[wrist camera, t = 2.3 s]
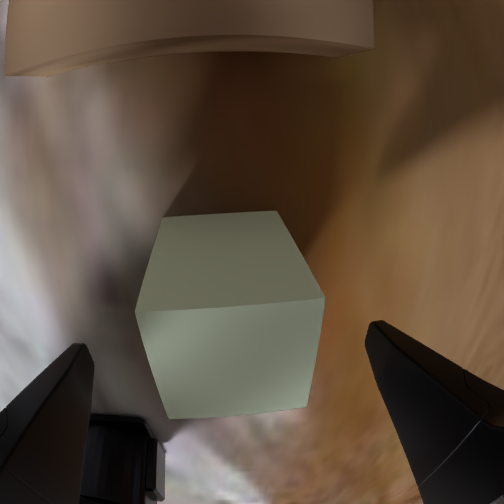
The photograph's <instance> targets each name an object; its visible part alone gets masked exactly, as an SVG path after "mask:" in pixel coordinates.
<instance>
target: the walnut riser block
mask: <svg viewBox="0 0 504 504" xmlns="http://www.w3.org/2000/svg"><path fill="white" fill-rule="evenodd" d="M371 49H374V9H373V0H9V6H8V15H7V25H6V38H5V67H4V76H40V77H49V76H52V75H56V74H60V73H64V72H68V71H72V70H76V69H80V68H85V67H89V66H94V65H99V64H104V63H110V62H116V61H122V60H128V59H135V58H142V57H150V56H158V55H168V54H180V53H194V52H216V51H261V52H283V53H297V54H309V55H319V56H327V57H335V58H336V57H340V56H344V55H348V54H353V53H357V52H362V51H366V50H371Z"/></svg>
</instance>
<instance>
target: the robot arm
mask: <svg viewBox="0 0 504 504" xmlns="http://www.w3.org/2000/svg"><path fill="white" fill-rule="evenodd" d="M365 348H366V351H367V354H368V357H369V361H370V364H371V367H372V370H373V374H374V377H375V380H376V383H377V386H378V388H379V391H380V393H381V395H382V398H383V400H384V403H385V405H386V407H387V410H388V412H389V414H390V417H391V419H392V422H393V424H394V427H395V429H396V431H397V434H398V436H399V439H400V441H401V444H402V446H403V449H404V452H405V454H406V457H407V459H408V462H409V464H410V467H411V470H412V472H413V475H414V478H415V480H416V483H417V486H419V487H418V489H419V492H420V495H421V497H422V500H423V503H424V504H504V390H502V389H500V388H498V387H496V386H494V385H492V384H490V383H488V382H486V381H484V380H482V379H481V378H479V377H477V376H475V375H474V374H472V373H470V372H469V371H467V370H465V369H462V367H460V366H459V365H457V364H455V363H454V362H452V361H450V360H449V359H447V358H445V357H444V356H442V355H440V354H439V353H437V352H435V351H434V350H432V349H430V348H429V347H427V346H425V345H424V344H422V343H420V342H419V341H417V340H415V339H414V338H412V337H410V336H408V335H407V334H405V333H403V332H402V331H400V330H398V329H397V328H395V327H393V326H392V325H390V324H388V323H387V322H385V321H383V320H378V321H373V322H371V323H370V324H369V327H368V331H367V335H366V338H365ZM93 377H94V362H93V359H92V357H91V355H90V353H89V350H88V348H87V346H86V345H85V344H84V343H73V344H72V345H71V346H69V347H68V348H67V349H66V350H65V351H64V352H63V353H62V354H61V355H60V356H59V357H58V358H56V359H55V360H54V361H53V362H52V363H51V364H50V365H49V366H48V367H47V368H46V369H45V370H44V371H42V372H41V373H40V374H39V375H38V376H37V377H36V378H35V379H34V380H33V381H32V382H31V383H30V384H29V385H28V386H27V387H26V388H25V389H24V390H23V391H22V392H20V393H19V394H18V395H17V396H16V397H15V398H14V399H13V400H12V401H11V402H10V403H9V404H8V405H7V406H6V408H4V409H3V410H2V411H1V412H0V504H157V501H163V500H164V499H165V454H164V452H163V450H162V448H161V446H160V444H159V442H158V440H157V439H156V438H154V437H153V435H152V433H151V431H150V429H149V427H148V425H147V422H146V421H145V420H144V419H142V418H139V417H118V416H101V415H90V412H91V403H92V389H93Z"/></svg>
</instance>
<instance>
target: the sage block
mask: <svg viewBox="0 0 504 504" xmlns="http://www.w3.org/2000/svg"><path fill="white" fill-rule="evenodd" d="M325 299H326V297H325V296H324V294H323V292H322V290H321V288H320V287H319V285H318V283H317V281H316V279H315V277H314V276H313V274H312V272H311V270H310V268H309V267H308V265H307V263H306V261H305V259H304V258H303V256H302V254H301V252H300V251H299V249H298V247H297V245H296V243H295V242H294V240H293V238H292V236H291V235H290V233H289V231H288V229H287V228H286V226H285V224H284V223H283V221H282V219H281V217H280V216H279V214H278V212H277V211H258V212H238V213H221V214H205V215H189V216H175V217H163V218H162V221H161V224H160V227H159V230H158V233H157V237H156V240H155V243H154V246H153V249H152V252H151V256H150V259H149V262H148V266H147V269H146V273H145V276H144V279H143V283H142V286H141V290H140V294H139V297H138V301H137V305H136V308H135V316H136V319H137V323H138V327H139V330H140V334H141V337H142V341H143V344H144V348H145V351H146V354H147V358H148V361H149V364H150V367H151V370H152V373H153V376H154V379H155V382H156V385H157V388H158V391H159V394H160V397H161V400H162V403H163V405H164V408H165V411H166V414H167V416H168V419H194V418H214V417H228V416H240V415H250V414H259V413H267V412H275V411H283V410H290V409H296V408H302V407H306V406H307V401H308V396H309V391H310V386H311V381H312V376H313V371H314V365H315V360H316V354H317V349H318V343H319V337H320V331H321V325H322V319H323V312H324V306H325Z"/></svg>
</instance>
